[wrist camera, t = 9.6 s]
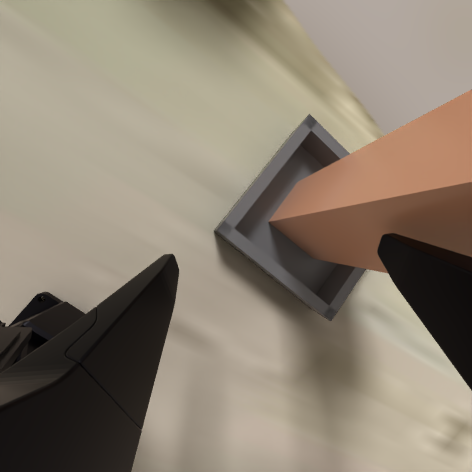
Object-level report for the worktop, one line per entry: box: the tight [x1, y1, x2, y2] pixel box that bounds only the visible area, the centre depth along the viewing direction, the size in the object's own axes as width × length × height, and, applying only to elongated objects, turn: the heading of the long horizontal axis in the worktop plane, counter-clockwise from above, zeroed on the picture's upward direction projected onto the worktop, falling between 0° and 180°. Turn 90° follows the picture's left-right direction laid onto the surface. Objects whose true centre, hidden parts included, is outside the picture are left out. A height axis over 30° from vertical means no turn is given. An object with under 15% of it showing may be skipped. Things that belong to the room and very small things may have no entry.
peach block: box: [268, 90, 472, 273], centre depth 13 cm, size 5×6×15 cm
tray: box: [214, 114, 366, 321], centre depth 20 cm, size 13×13×3 cm
